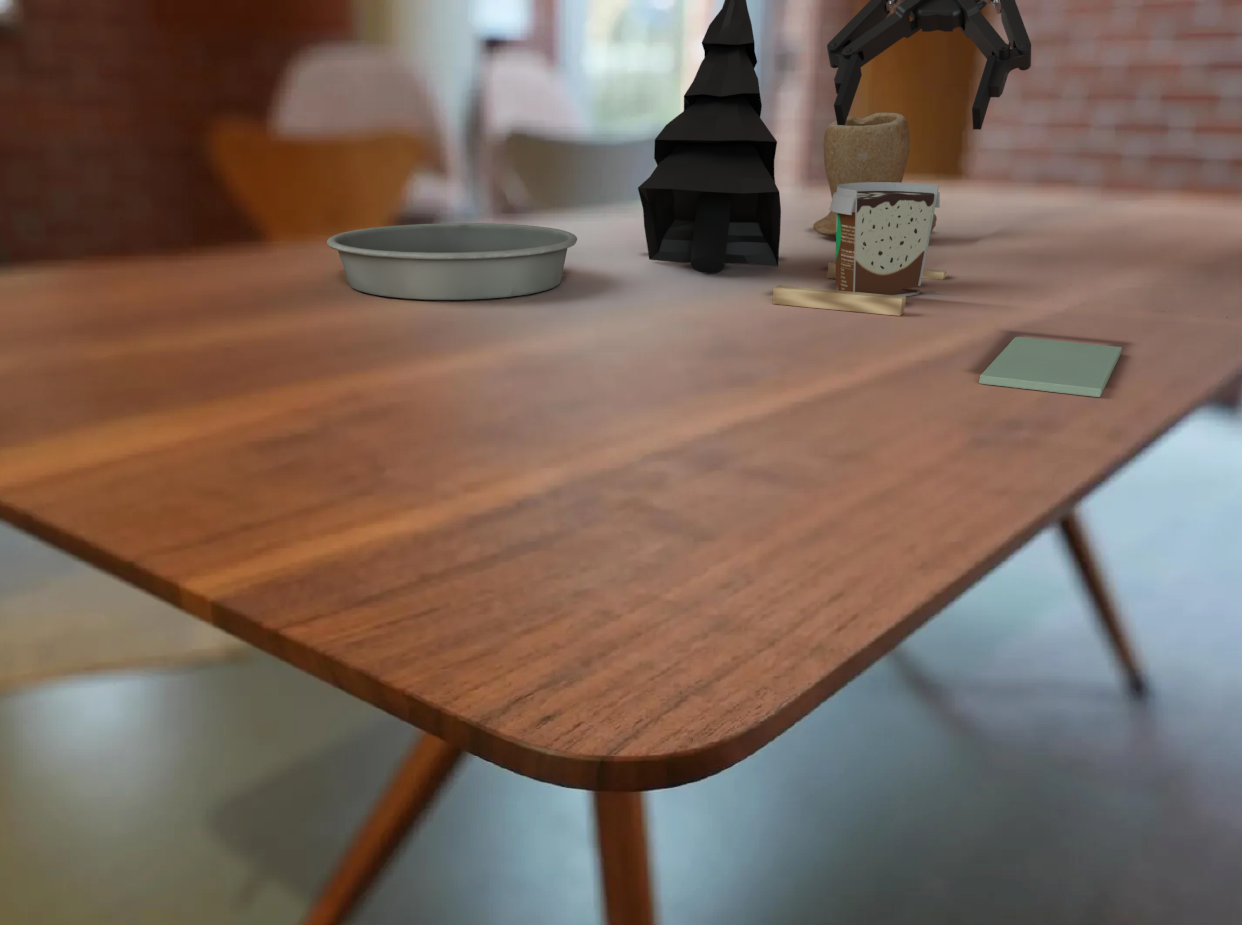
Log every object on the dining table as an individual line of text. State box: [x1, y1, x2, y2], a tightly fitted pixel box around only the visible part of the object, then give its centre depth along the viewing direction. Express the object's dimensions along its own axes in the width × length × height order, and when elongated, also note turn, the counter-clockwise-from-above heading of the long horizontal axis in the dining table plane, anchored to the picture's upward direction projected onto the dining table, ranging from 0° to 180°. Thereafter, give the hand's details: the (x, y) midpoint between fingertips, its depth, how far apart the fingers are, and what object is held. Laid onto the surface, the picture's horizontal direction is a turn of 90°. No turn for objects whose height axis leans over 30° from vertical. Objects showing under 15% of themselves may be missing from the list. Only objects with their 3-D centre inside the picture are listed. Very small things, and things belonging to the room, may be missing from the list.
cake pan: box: [326, 222, 578, 301], centre depth 117 cm, size 25×25×4 cm
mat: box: [978, 336, 1123, 398], centre depth 86 cm, size 8×15×1 cm, turn 153°
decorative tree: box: [637, 0, 782, 274], centre depth 126 cm, size 15×15×35 cm
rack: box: [772, 261, 948, 317], centre depth 114 cm, size 12×19×2 cm, turn 153°
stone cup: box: [812, 112, 938, 237], centre depth 147 cm, size 15×12×15 cm
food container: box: [828, 182, 941, 297], centre depth 112 cm, size 12×6×10 cm, turn 126°
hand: (906, 117), depth 115 cm, fingers open, 13 cm apart
